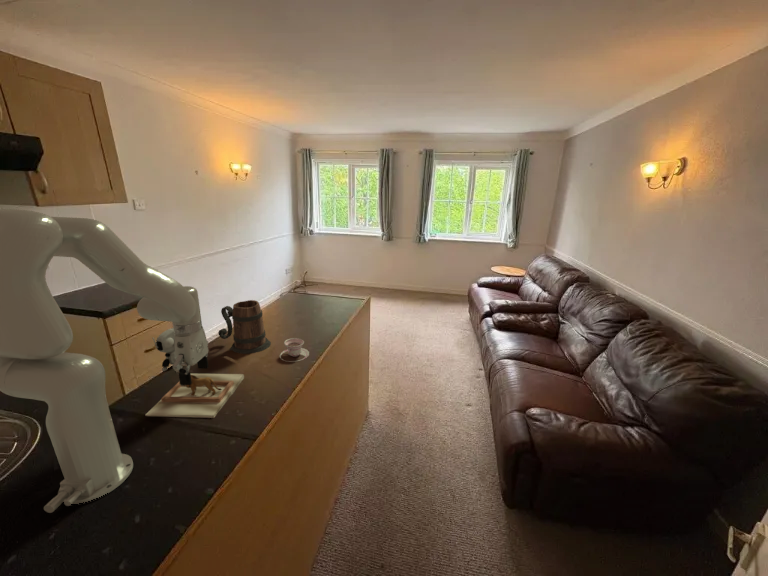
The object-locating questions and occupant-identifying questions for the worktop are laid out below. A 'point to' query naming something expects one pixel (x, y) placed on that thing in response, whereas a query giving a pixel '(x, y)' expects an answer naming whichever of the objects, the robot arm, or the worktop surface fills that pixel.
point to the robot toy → (166, 347)
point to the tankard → (245, 327)
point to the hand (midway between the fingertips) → (195, 375)
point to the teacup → (295, 348)
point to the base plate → (197, 398)
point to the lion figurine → (201, 384)
